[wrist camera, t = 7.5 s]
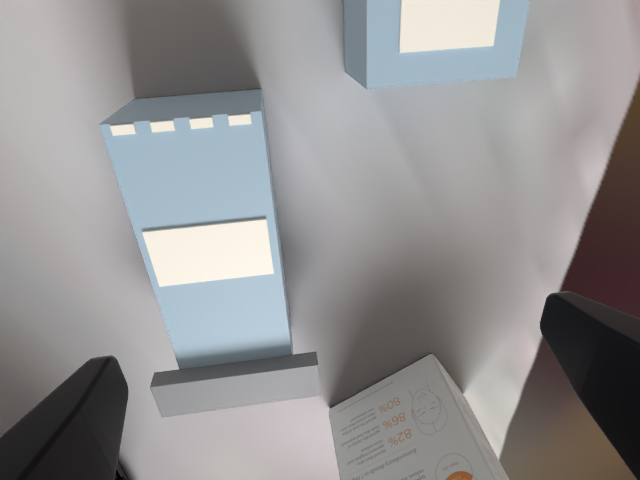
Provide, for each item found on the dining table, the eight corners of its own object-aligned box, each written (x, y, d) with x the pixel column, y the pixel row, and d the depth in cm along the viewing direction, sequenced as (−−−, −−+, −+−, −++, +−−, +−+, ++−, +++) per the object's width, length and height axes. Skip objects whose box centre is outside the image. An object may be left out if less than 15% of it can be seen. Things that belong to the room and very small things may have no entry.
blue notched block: (181, 344, 22) (162, 420, 18) (105, 101, 16) (49, 134, 12) (310, 327, 23) (320, 398, 19) (288, 86, 16) (297, 113, 12)
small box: (367, 445, 29) (413, 641, 20) (325, 406, 27) (357, 613, 18) (466, 395, 28) (564, 583, 19) (433, 349, 25) (529, 542, 16)
